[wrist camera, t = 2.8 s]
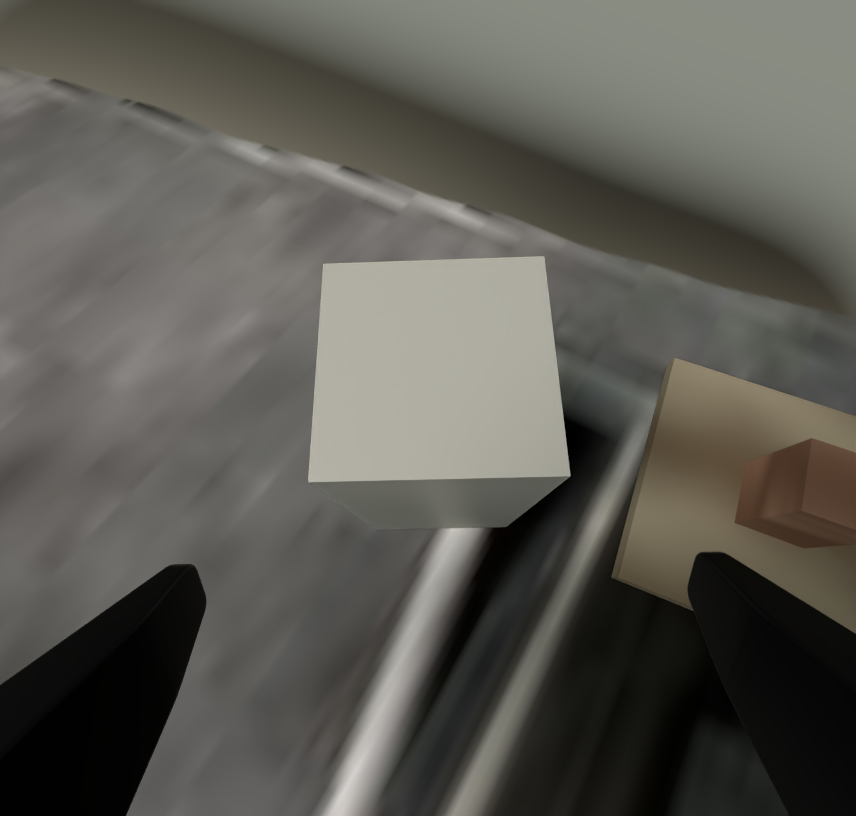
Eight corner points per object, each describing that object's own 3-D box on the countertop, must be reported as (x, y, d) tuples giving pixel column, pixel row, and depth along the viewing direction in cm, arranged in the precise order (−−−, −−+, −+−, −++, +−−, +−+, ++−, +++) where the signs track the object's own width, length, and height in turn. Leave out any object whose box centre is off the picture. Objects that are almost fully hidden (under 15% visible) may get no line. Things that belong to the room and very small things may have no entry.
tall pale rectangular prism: (506, 527, 20) (570, 476, 10) (377, 529, 20) (307, 482, 10) (497, 405, 21) (543, 256, 11) (379, 408, 22) (323, 264, 12)
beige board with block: (880, 686, 17) (1022, 722, 13) (611, 577, 19) (659, 578, 15) (900, 441, 20) (1020, 405, 16) (666, 365, 22) (720, 314, 18)
